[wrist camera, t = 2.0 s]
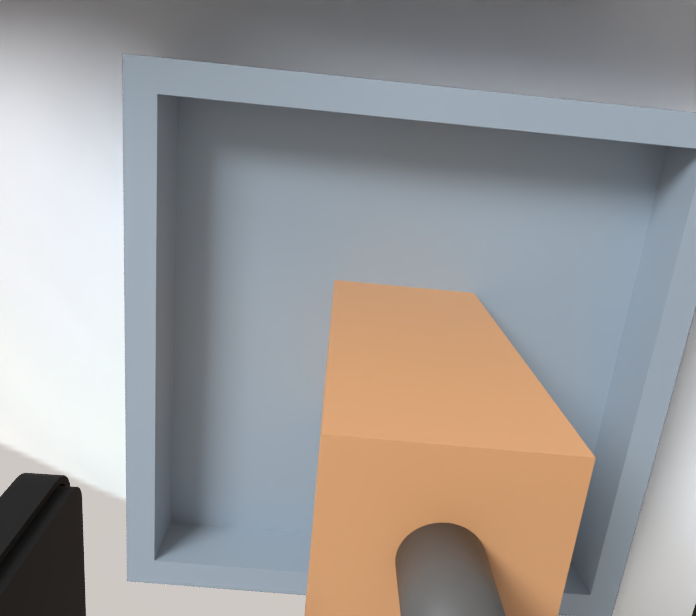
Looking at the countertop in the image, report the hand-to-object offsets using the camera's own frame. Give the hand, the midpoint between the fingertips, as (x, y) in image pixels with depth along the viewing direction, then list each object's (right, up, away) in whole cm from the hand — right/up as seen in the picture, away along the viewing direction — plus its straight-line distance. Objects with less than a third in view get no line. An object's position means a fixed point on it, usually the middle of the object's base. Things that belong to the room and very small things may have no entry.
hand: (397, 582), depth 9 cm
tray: (+1, +3, +10) cm, 10 cm away
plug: (+1, +3, +9) cm, 10 cm away
